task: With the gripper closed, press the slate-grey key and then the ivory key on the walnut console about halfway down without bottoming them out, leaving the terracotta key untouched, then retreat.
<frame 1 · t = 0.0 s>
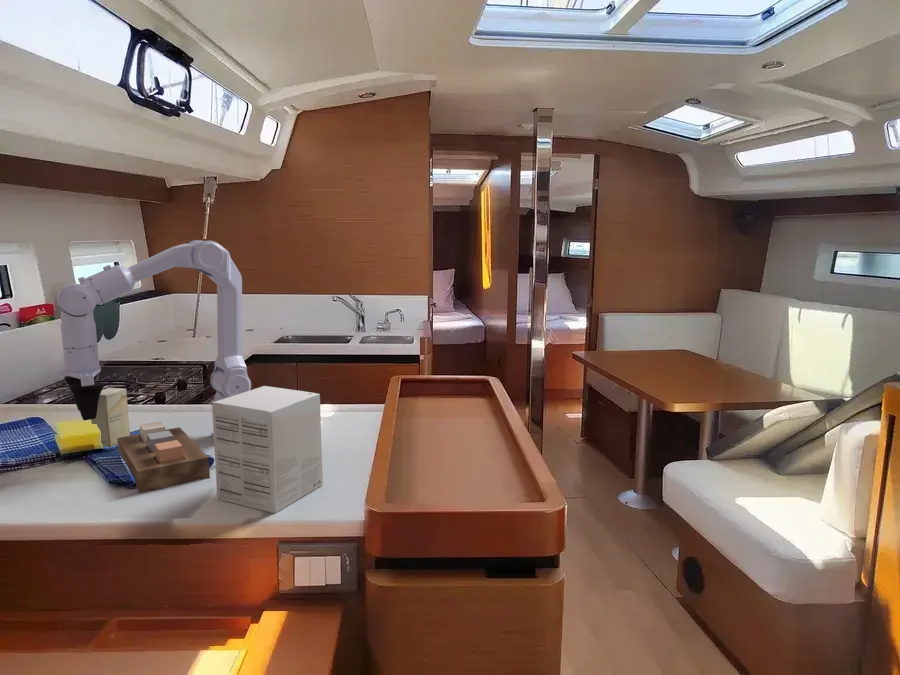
hand: (86, 414, 120), 10 cm above the counter, tool pointing down, fingers open, 7 cm apart
supplement box: (271, 493, 109), on the counter
key terracotta: (168, 453, 114), point 5 cm above the counter, slide at 0.0 cm
key slate: (160, 443, 119), point 5 cm above the counter, slide at 0.0 cm
skincare box: (112, 446, 132), on the counter
console: (162, 466, 120), on the counter
key ivory: (153, 434, 125), point 5 cm above the counter, slide at 0.0 cm
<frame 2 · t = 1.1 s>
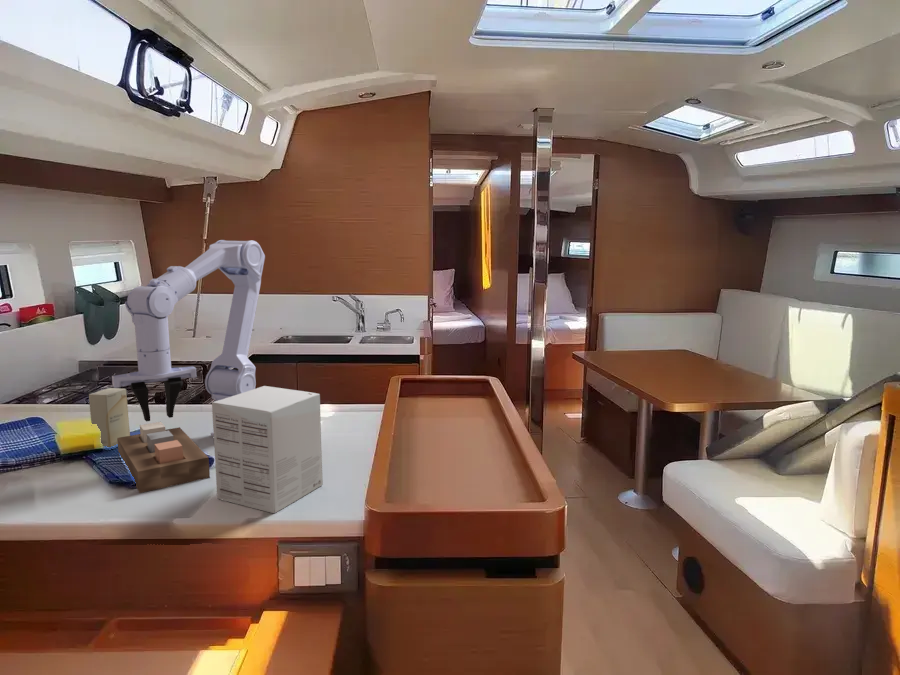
hand: (158, 418, 119), 10 cm above the counter, tool pointing down, fingers open, 3 cm apart
nothing on the counter moved.
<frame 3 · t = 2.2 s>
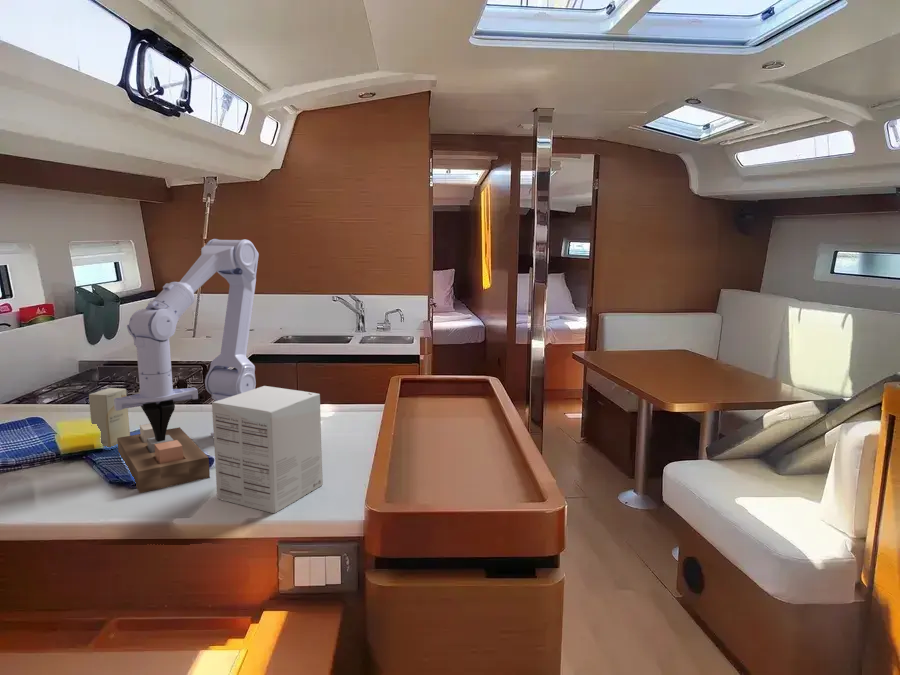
hand: (160, 439, 119), 6 cm above the counter, tool pointing down, fingers closed, pressing on key slate
key slate: (160, 447, 120), point 4 cm above the counter, slide at 0.9 cm, touching gripper
everything else where it was.
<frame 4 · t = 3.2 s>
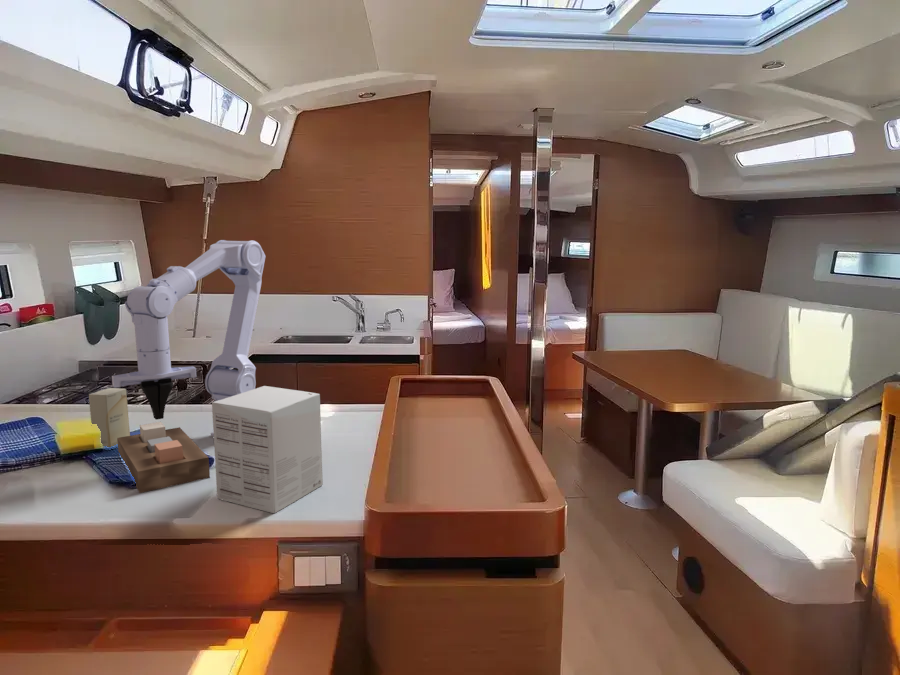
hand: (158, 417, 119), 10 cm above the counter, tool pointing down, fingers closed
key slate: (161, 449, 120), point 4 cm above the counter, slide at 1.2 cm
everything else where it was.
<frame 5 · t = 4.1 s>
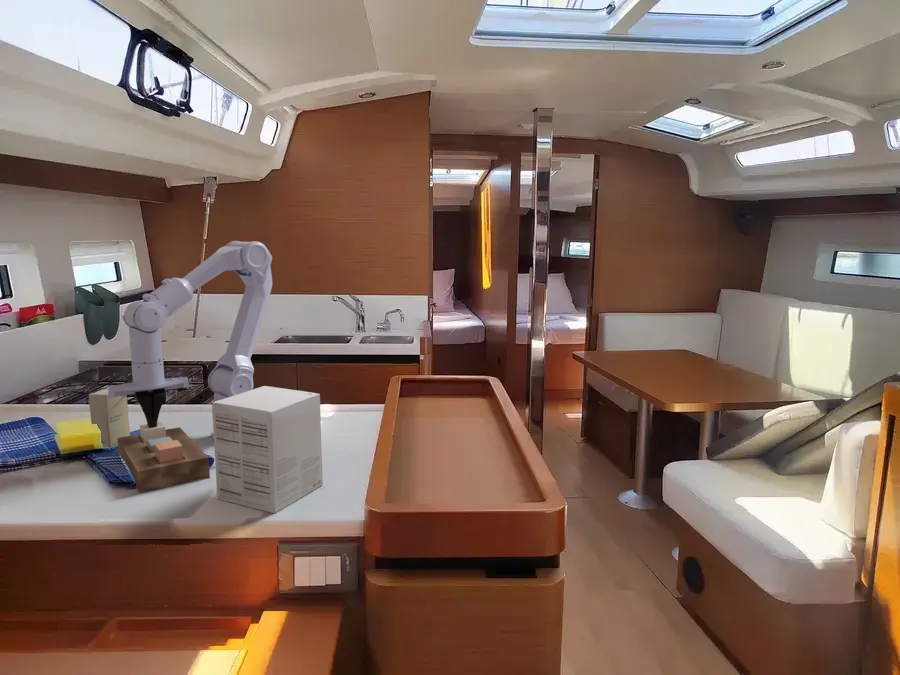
hand: (152, 426, 125), 6 cm above the counter, tool pointing down, fingers closed, pressing on key ivory
key ivory: (153, 434, 125), point 5 cm above the counter, slide at 0.1 cm, touching gripper
everything else where it was.
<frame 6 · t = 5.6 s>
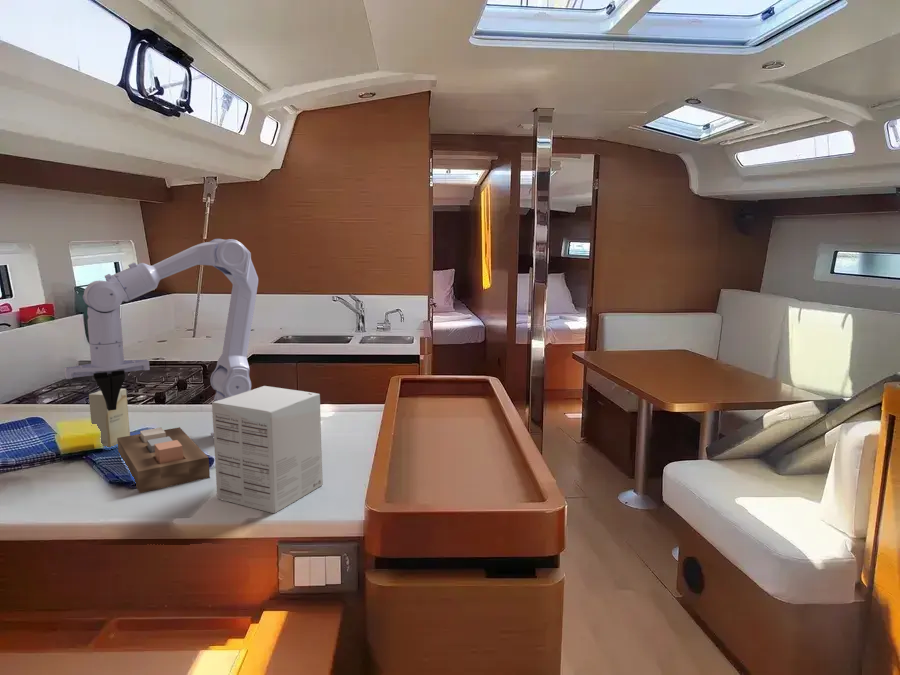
hand: (111, 409, 122), 11 cm above the counter, tool pointing down, fingers closed
key ivory: (153, 439, 125), point 4 cm above the counter, slide at 1.2 cm
everything else where it was.
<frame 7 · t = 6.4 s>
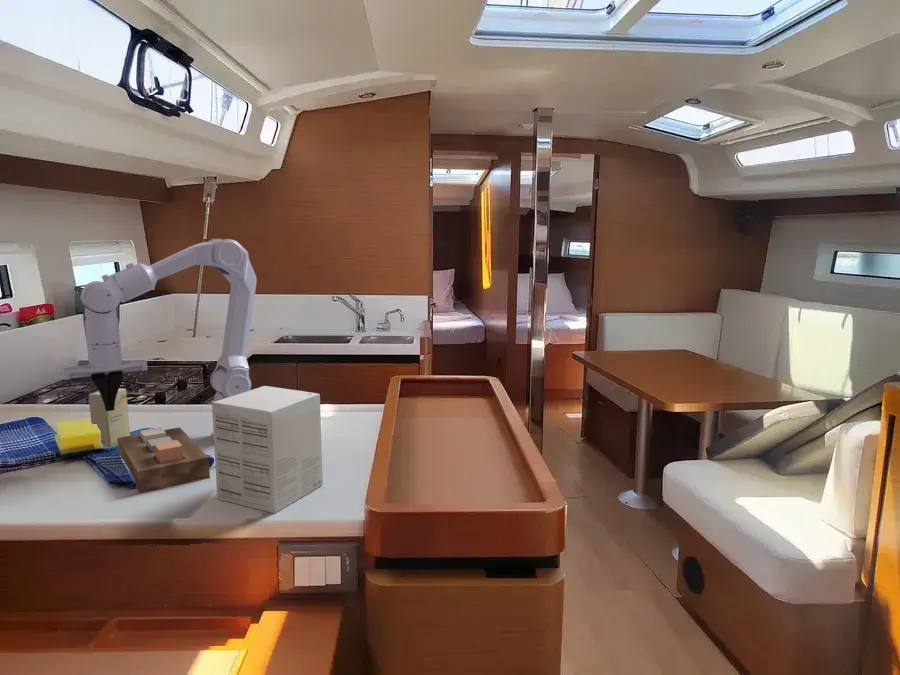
hand: (109, 409, 122), 10 cm above the counter, tool pointing down, fingers closed
nothing on the counter moved.
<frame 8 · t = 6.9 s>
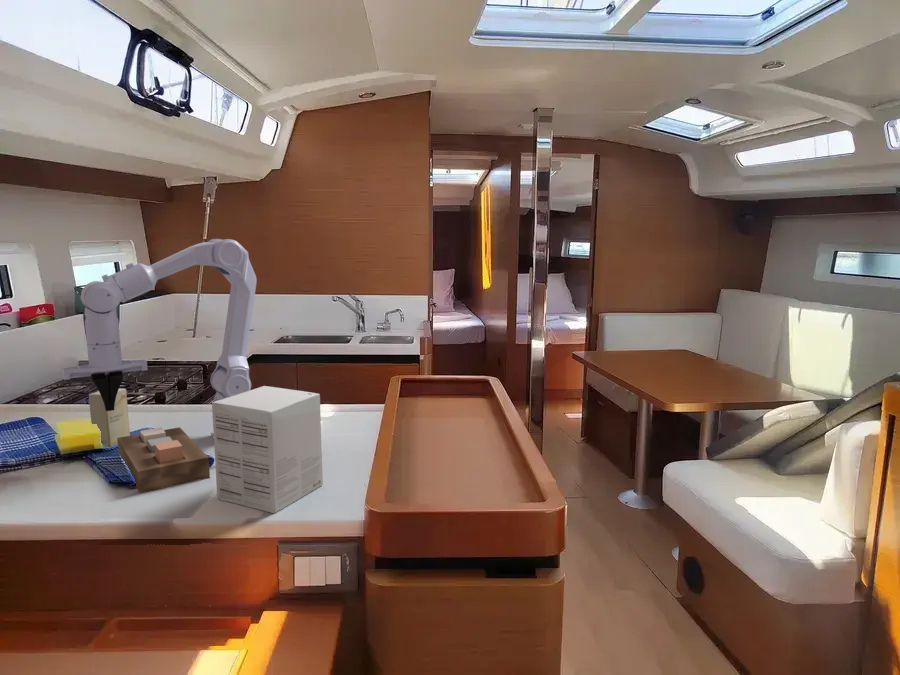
hand: (109, 409, 122), 10 cm above the counter, tool pointing down, fingers closed
nothing on the counter moved.
at the end: key slate slide at 1.2 cm; key ivory slide at 1.2 cm; key terracotta slide at 0.0 cm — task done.
